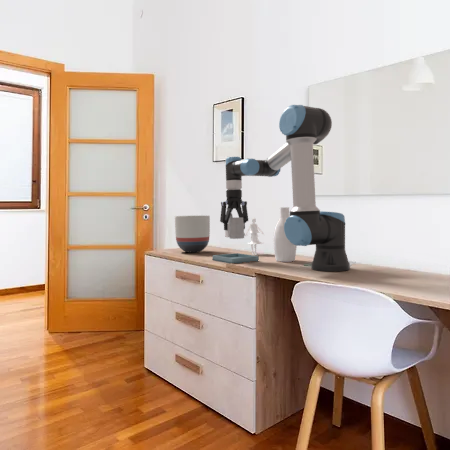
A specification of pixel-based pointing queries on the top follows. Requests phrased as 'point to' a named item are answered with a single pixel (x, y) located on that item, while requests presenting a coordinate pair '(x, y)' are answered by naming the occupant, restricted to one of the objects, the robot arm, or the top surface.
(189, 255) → the top surface
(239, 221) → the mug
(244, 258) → the tray
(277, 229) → the bottle
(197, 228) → the planter
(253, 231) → the figurine
